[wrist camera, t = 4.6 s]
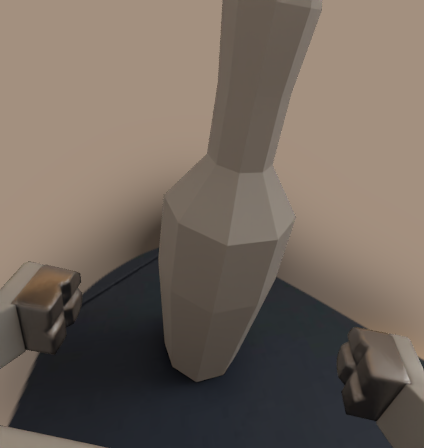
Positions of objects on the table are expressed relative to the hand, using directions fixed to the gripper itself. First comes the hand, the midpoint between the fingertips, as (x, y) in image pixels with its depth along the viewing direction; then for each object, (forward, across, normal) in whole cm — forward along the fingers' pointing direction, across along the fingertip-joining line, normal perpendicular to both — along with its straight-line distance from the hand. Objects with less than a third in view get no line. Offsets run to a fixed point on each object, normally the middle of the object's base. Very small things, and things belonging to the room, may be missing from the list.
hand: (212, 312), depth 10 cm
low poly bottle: (+8, 0, +12) cm, 14 cm away
